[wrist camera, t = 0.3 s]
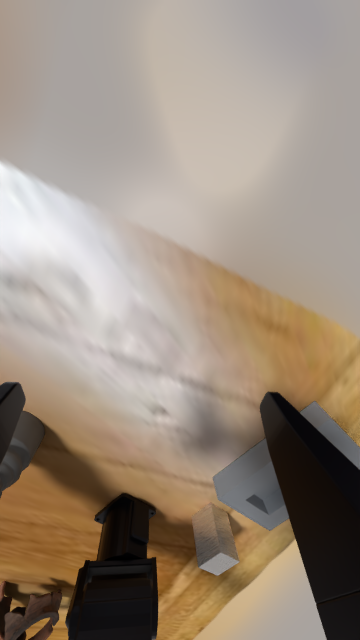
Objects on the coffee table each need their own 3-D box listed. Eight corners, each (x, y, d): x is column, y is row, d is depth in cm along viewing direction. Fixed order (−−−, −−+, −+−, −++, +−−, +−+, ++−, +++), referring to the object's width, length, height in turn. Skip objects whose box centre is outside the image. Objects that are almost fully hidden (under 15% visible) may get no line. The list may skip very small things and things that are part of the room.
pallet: (261, 508, 38) (269, 530, 35) (212, 477, 34) (217, 499, 31) (356, 443, 34) (374, 462, 31) (314, 400, 30) (330, 418, 28)
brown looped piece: (2, 565, 37) (3, 632, 31) (64, 543, 43) (75, 595, 37) (-24, 631, 38) (-28, 710, 31) (41, 600, 44) (48, 661, 38)
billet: (208, 524, 38) (217, 575, 32) (191, 515, 37) (198, 567, 31) (226, 511, 37) (239, 561, 32) (210, 502, 36) (220, 552, 30)
